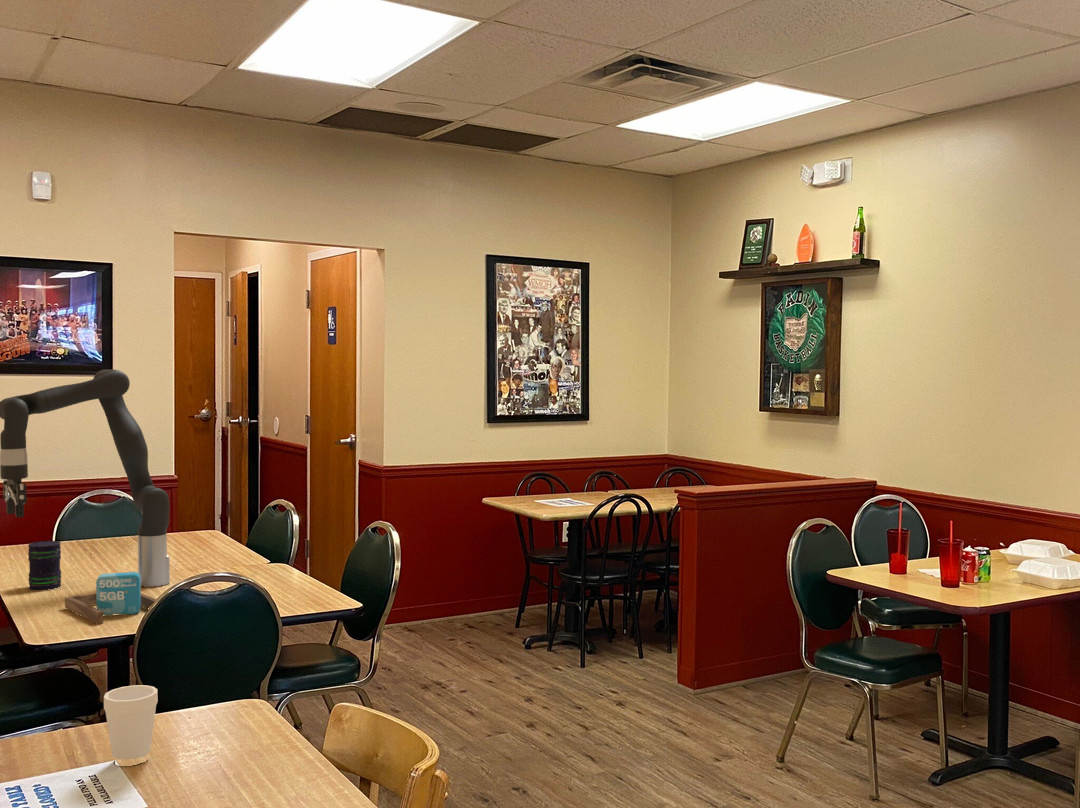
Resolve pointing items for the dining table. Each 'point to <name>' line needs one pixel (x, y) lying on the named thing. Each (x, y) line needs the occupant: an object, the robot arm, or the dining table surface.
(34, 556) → the storage jar
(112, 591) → the data package
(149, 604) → the walnut frame
